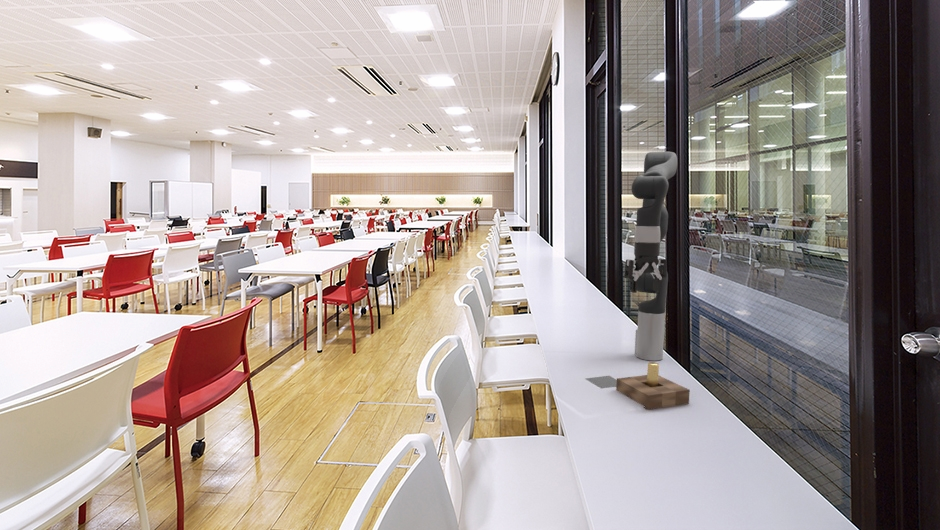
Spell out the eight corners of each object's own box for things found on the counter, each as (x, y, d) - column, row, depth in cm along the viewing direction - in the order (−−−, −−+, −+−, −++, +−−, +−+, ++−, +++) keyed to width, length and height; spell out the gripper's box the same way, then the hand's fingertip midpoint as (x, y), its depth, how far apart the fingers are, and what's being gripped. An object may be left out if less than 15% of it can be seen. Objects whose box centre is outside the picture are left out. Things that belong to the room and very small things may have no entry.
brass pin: (643, 396, 142) (645, 362, 141) (652, 394, 143) (654, 361, 142) (650, 399, 139) (652, 365, 138) (659, 398, 140) (661, 364, 139)
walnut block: (616, 391, 145) (616, 378, 145) (654, 386, 150) (655, 373, 149) (647, 409, 132) (648, 395, 131) (688, 403, 136) (689, 389, 136)
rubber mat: (584, 379, 155) (584, 378, 155) (609, 377, 158) (609, 375, 158) (601, 389, 146) (601, 388, 146) (626, 386, 149) (626, 385, 149)
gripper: (657, 239, 158) (655, 289, 160) (620, 240, 154) (618, 291, 156) (674, 241, 151) (671, 292, 153) (636, 241, 147) (633, 294, 148)
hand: (644, 291), depth 154 cm, fingers open, 8 cm apart
